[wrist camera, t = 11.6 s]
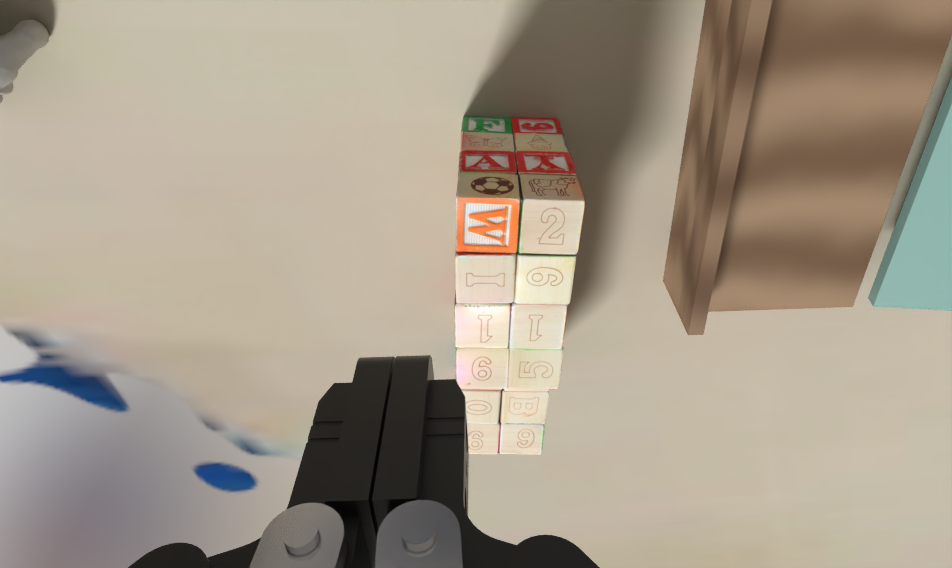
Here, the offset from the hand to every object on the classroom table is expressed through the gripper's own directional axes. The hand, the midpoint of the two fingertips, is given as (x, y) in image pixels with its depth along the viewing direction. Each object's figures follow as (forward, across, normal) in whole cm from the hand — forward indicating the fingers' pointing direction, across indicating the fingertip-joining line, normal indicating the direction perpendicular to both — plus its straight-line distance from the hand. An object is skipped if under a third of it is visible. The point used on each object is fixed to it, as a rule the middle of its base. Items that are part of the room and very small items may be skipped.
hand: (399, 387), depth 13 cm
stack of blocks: (+29, -3, +15) cm, 33 cm away
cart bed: (+29, -21, +6) cm, 36 cm away
